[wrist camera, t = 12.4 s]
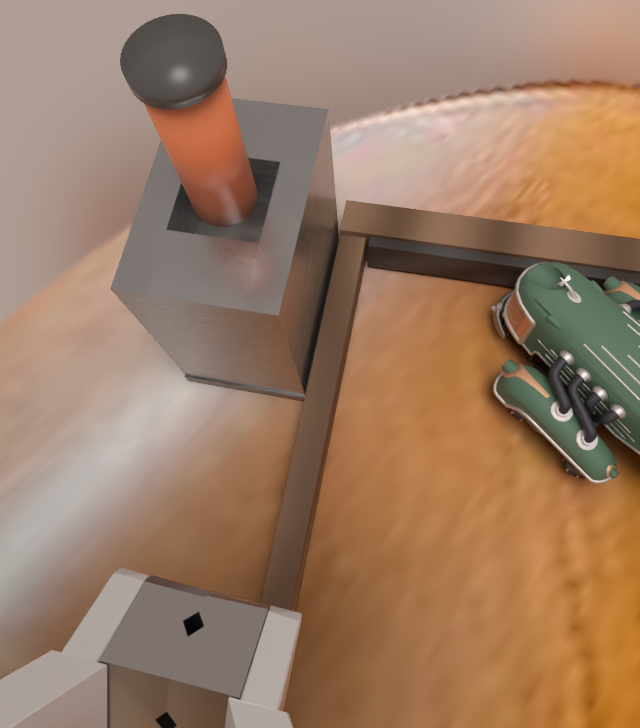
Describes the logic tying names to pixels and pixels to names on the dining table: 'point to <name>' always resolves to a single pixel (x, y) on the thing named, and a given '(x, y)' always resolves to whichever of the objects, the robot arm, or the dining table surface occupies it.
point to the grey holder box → (241, 260)
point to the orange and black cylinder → (193, 113)
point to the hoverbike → (574, 363)
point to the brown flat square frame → (425, 256)
